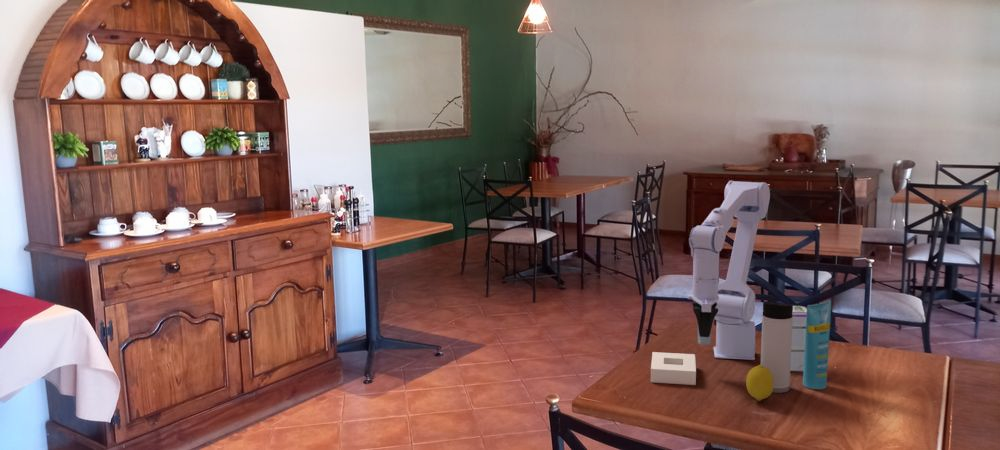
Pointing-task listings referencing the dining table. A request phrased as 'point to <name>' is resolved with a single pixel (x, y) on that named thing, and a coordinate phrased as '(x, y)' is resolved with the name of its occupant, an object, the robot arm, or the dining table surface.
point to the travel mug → (777, 343)
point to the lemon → (759, 382)
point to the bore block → (673, 368)
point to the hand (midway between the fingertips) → (704, 334)
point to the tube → (816, 345)
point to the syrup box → (798, 338)
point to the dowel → (704, 339)
